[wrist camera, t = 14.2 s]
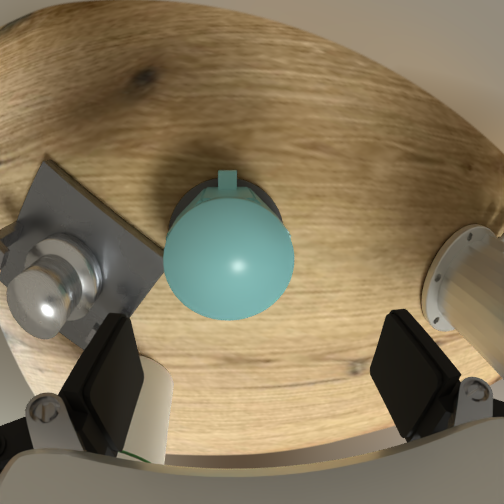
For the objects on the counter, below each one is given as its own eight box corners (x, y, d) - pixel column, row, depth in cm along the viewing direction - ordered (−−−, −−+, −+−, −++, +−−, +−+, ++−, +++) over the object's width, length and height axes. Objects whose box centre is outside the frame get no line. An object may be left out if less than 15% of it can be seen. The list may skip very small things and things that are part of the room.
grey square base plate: (5, 274, 21) (-35, 309, 14) (50, 159, 18) (-5, 171, 11) (103, 352, 25) (80, 404, 18) (172, 257, 22) (154, 305, 15)
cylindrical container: (127, 403, 27) (95, 603, 4) (95, 358, 25) (26, 585, 2) (184, 397, 27) (179, 624, 4) (156, 349, 25) (117, 627, 2)
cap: (173, 171, 19) (157, 180, 14) (281, 170, 20) (299, 179, 15) (181, 296, 22) (172, 334, 18) (274, 294, 23) (287, 331, 18)
